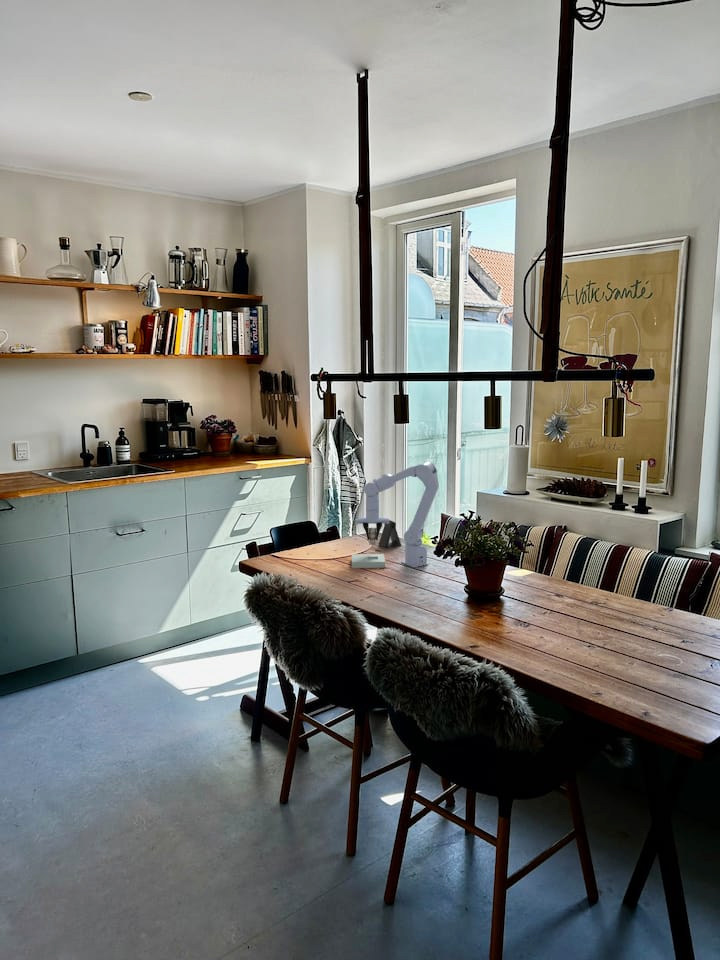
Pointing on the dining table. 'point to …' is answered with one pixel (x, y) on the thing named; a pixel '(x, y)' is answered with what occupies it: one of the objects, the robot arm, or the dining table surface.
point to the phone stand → (389, 535)
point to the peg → (372, 535)
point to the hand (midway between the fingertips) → (372, 539)
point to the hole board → (368, 561)
